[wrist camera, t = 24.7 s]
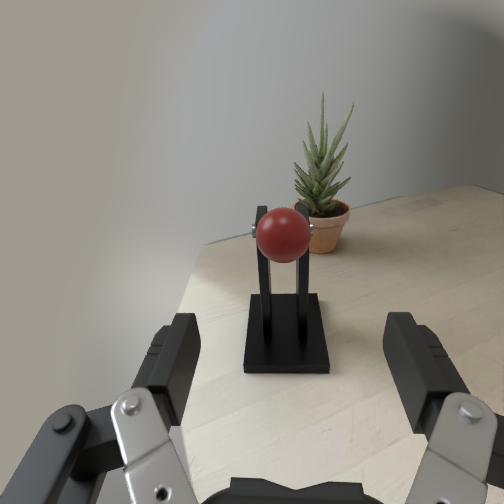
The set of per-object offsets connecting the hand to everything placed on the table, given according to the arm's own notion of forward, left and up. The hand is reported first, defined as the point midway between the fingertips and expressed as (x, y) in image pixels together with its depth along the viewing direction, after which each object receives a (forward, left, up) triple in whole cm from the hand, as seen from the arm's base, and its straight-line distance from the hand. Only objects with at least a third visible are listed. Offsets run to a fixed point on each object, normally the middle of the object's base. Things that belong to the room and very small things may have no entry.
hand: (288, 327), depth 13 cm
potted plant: (+13, +38, -19) cm, 44 cm away
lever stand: (+3, +18, -19) cm, 26 cm away
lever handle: (+2, +12, -4) cm, 13 cm away
